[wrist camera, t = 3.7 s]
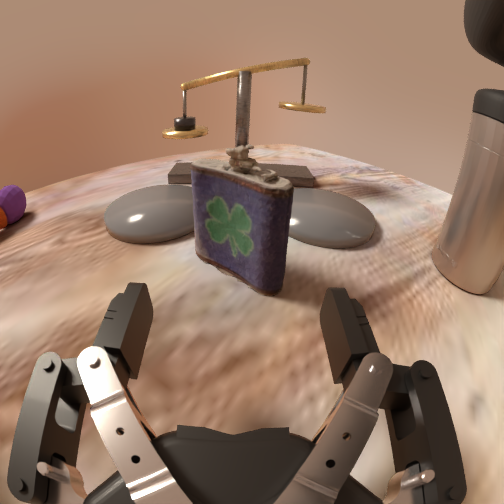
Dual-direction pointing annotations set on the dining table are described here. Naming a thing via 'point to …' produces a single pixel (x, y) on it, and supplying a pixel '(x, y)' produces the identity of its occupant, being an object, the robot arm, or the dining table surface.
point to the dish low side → (151, 214)
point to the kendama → (11, 205)
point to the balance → (241, 120)
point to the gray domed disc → (329, 219)
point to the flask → (242, 219)
